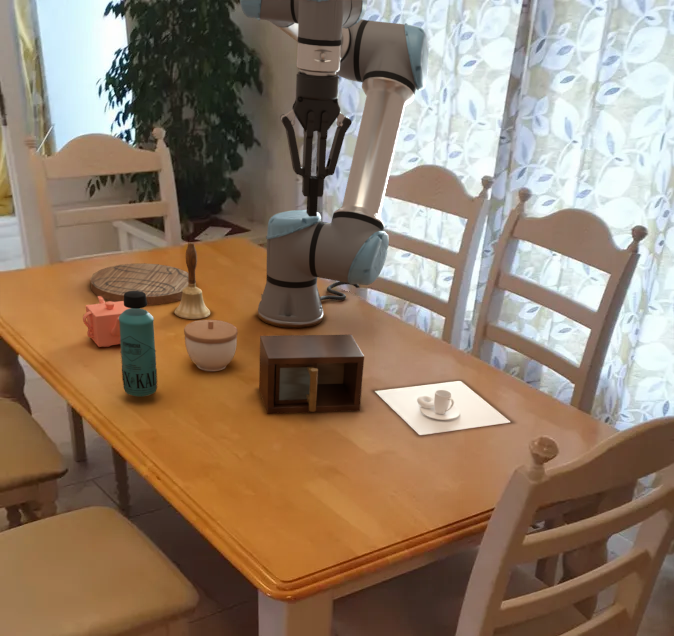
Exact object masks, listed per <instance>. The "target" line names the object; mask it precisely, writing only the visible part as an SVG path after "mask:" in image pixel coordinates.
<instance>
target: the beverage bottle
mask: <svg viewBox="0 0 674 636" xmlns="http://www.w3.org/2000/svg"><path fill="white" fill-rule="evenodd" d="M124 306H125V307H128V308H131V309H127V310H125V311H124V312H123V313H122V314H121V315H120V316H119V324H120V342H121V344H119V347H120V359H121V360H120V361H121V362H120V363H121V378H122V379H121V380H122V386H123V387H122V388H123V390H124V392H125V393H126V394H127V395H129V396H131V397H149V396H151V395H153V394H155V393H156V392H157V389H158V387H159V386H158V385H159V384H158V375H157V374H158V367H157V361H156V360H157V356H156V355H157V354H156V352H157V350H156V343H155V325H154V321H155V319H154V318H155V317H154V315H152V313H150V312H149V311H148V310H146V309H144V308H146V307H148V305H147V300H146V294H145V293H144V292H141V291H128V292H126V293H124Z"/></svg>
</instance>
